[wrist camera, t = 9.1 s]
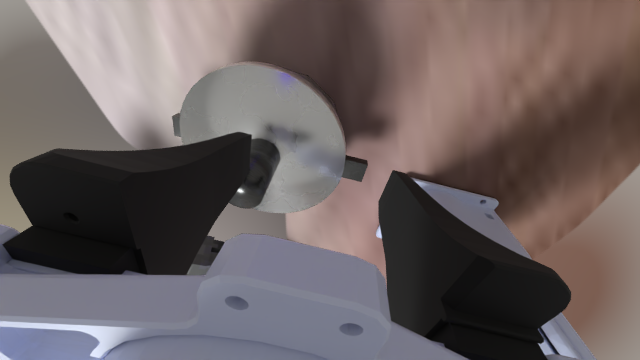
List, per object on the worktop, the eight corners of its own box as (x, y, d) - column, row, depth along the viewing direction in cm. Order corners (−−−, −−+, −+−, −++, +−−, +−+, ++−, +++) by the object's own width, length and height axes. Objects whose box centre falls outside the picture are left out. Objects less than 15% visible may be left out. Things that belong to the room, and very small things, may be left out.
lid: (362, 73, 15) (363, 112, 10) (334, 206, 22) (327, 265, 17) (177, 44, 15) (95, 69, 10) (210, 185, 22) (170, 237, 18)
